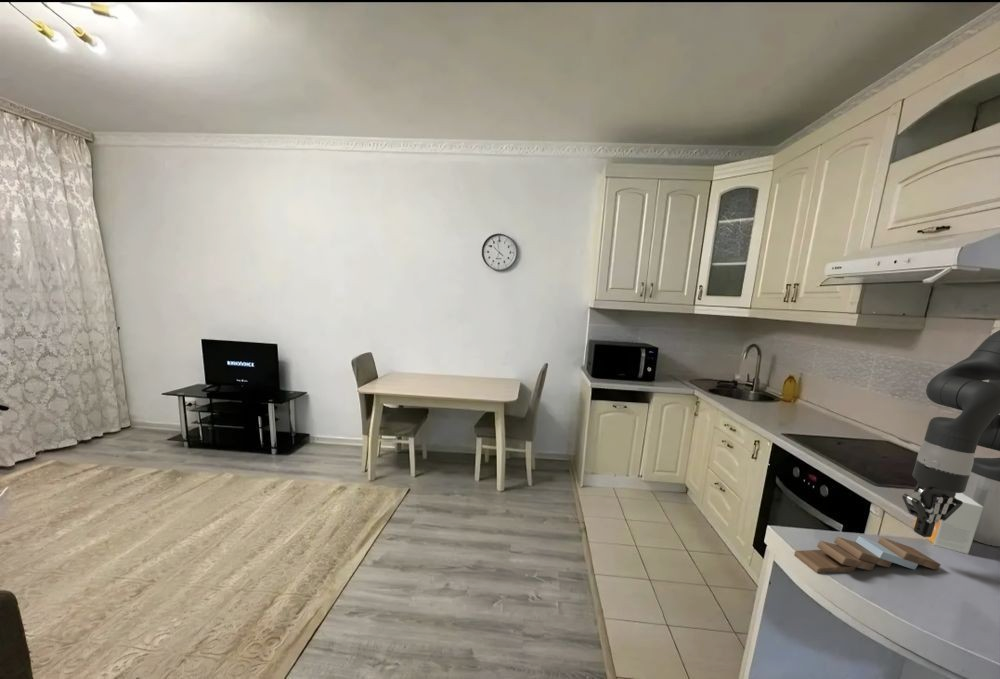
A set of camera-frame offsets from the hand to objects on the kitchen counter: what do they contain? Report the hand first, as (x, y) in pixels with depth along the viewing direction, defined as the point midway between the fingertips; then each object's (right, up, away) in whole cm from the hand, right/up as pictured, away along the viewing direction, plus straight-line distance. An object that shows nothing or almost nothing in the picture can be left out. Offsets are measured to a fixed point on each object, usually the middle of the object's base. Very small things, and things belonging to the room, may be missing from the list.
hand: (921, 534), depth 81 cm
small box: (+16, -7, +10) cm, 21 cm away
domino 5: (+2, -6, +1) cm, 7 cm away
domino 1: (-19, -5, -1) cm, 20 cm away
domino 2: (-15, -5, -1) cm, 16 cm away
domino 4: (-3, -6, +1) cm, 7 cm away
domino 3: (-10, -5, +1) cm, 11 cm away
